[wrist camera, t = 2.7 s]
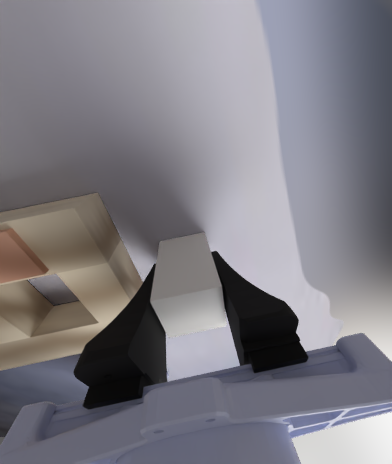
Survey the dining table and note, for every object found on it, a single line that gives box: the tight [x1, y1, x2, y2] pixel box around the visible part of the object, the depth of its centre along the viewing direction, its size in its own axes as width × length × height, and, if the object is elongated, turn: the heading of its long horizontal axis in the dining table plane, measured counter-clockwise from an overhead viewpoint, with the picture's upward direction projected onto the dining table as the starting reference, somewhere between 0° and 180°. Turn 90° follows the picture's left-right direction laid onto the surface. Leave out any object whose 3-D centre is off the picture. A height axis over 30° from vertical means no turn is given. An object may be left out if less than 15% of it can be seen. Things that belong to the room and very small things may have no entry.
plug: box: [150, 232, 227, 338], centre depth 12 cm, size 4×4×6 cm
